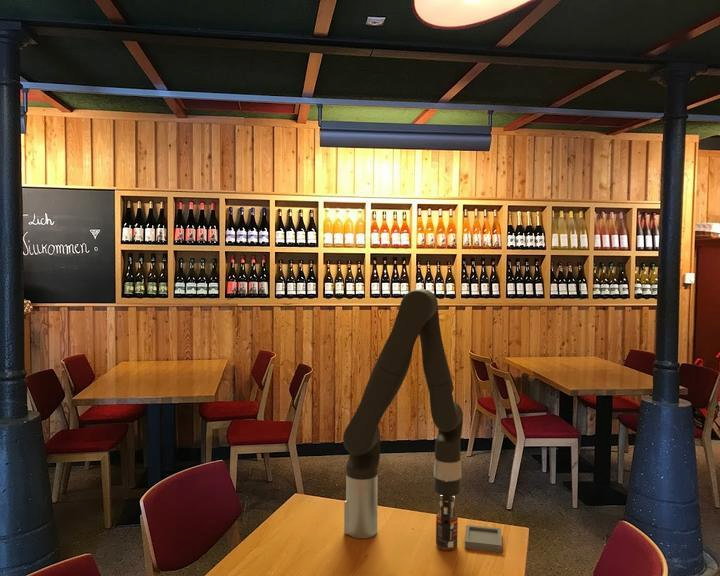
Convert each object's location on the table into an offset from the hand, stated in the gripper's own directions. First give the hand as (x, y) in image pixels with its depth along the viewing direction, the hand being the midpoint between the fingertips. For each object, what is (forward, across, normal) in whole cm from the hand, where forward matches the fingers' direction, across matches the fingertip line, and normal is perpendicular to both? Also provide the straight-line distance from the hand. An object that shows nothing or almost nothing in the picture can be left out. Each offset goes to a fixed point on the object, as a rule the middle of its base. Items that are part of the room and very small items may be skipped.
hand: (446, 533), depth 155 cm
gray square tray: (+4, -5, +10) cm, 12 cm away
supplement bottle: (+4, 0, 0) cm, 4 cm away
